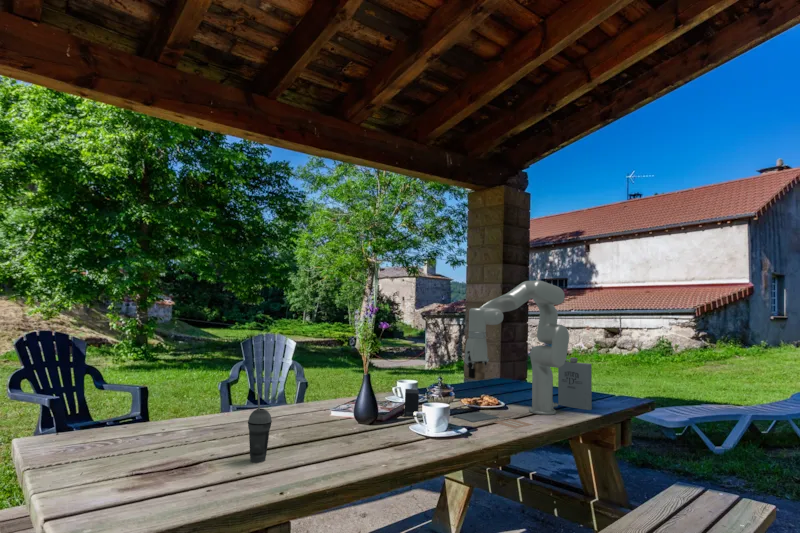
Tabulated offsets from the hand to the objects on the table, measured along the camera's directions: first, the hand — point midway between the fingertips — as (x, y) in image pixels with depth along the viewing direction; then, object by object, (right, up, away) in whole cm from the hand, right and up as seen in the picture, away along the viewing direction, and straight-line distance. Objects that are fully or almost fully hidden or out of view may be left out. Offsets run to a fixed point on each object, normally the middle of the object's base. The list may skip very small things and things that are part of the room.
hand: (476, 376), depth 214 cm
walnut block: (0, -1, 0) cm, 1 cm away
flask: (+55, -23, +34) cm, 69 cm away
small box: (-29, -19, +6) cm, 35 cm away
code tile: (+14, -18, -11) cm, 25 cm away
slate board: (-1, -19, -1) cm, 19 cm away
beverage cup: (-78, -11, -65) cm, 102 cm away
